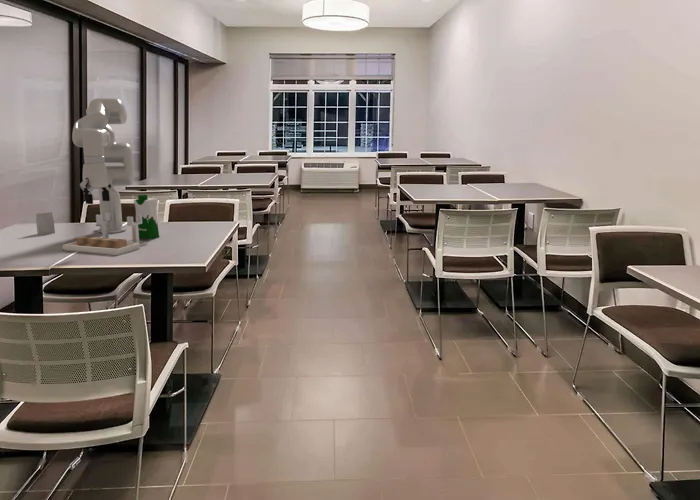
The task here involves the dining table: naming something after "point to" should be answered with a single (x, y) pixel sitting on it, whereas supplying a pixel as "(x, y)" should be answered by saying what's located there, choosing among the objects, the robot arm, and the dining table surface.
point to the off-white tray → (100, 250)
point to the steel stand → (129, 223)
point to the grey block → (45, 223)
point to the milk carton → (147, 217)
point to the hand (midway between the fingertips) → (98, 202)
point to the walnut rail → (101, 242)
